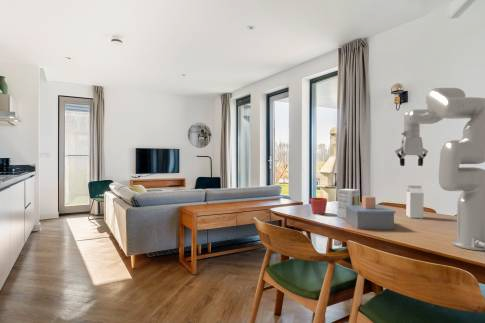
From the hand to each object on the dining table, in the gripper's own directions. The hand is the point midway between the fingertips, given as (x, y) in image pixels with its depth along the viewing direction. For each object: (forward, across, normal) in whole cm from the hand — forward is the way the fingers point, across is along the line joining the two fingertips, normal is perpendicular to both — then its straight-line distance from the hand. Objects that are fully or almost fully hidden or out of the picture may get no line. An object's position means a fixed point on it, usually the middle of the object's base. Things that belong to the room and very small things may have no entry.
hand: (411, 165), depth 165 cm
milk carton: (+31, +10, +15) cm, 36 cm away
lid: (+24, -26, -7) cm, 36 cm away
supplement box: (+31, -30, +13) cm, 45 cm away
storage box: (+31, -26, -7) cm, 41 cm away
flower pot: (+32, -45, +25) cm, 60 cm away
